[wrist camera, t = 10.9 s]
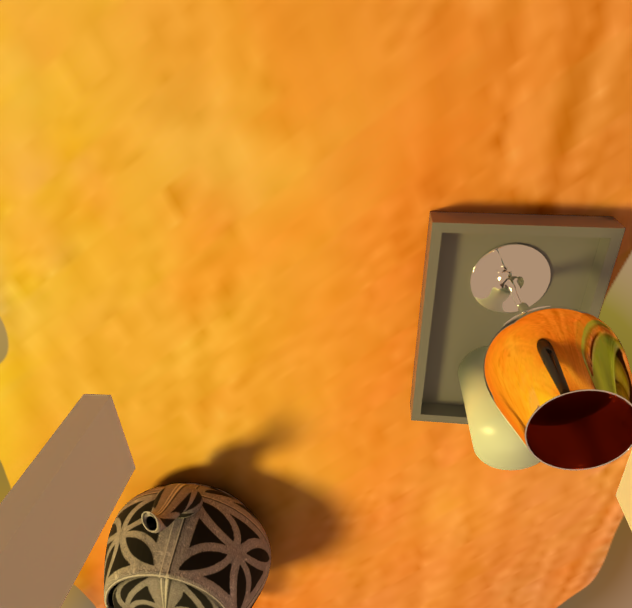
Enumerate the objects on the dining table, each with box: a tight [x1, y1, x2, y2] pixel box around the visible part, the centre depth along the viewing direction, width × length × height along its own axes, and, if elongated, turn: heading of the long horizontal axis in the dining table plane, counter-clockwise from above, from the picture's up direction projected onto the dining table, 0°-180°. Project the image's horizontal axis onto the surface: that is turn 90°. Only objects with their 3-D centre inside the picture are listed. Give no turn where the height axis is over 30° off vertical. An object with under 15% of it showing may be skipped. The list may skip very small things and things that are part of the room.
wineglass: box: [470, 243, 632, 470], centre depth 35 cm, size 8×8×18 cm
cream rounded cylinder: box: [458, 346, 541, 470], centre depth 44 cm, size 6×6×9 cm
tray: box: [410, 211, 626, 424], centre depth 45 cm, size 20×14×2 cm
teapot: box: [104, 483, 271, 608], centre depth 58 cm, size 19×31×15 cm, turn 178°
